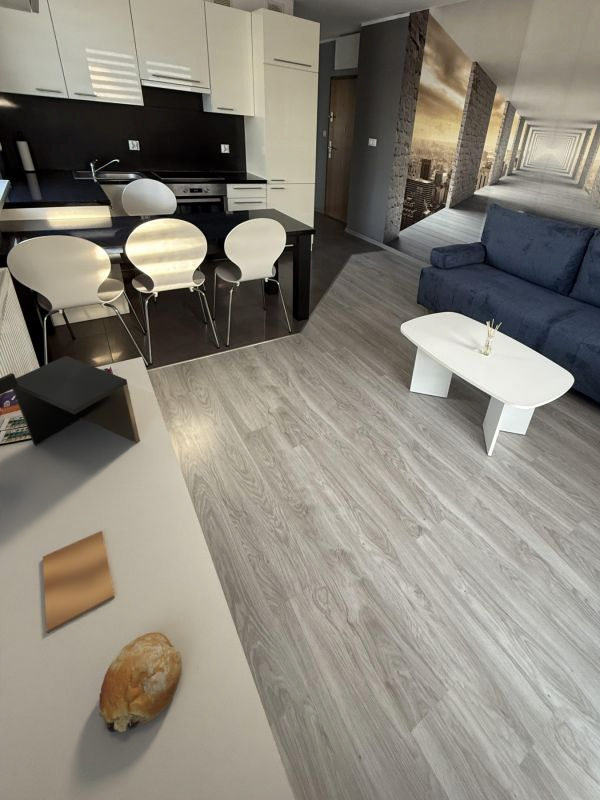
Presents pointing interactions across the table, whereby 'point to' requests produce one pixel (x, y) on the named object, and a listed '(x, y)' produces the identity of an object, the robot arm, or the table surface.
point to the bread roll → (139, 682)
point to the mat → (76, 580)
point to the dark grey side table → (74, 399)
